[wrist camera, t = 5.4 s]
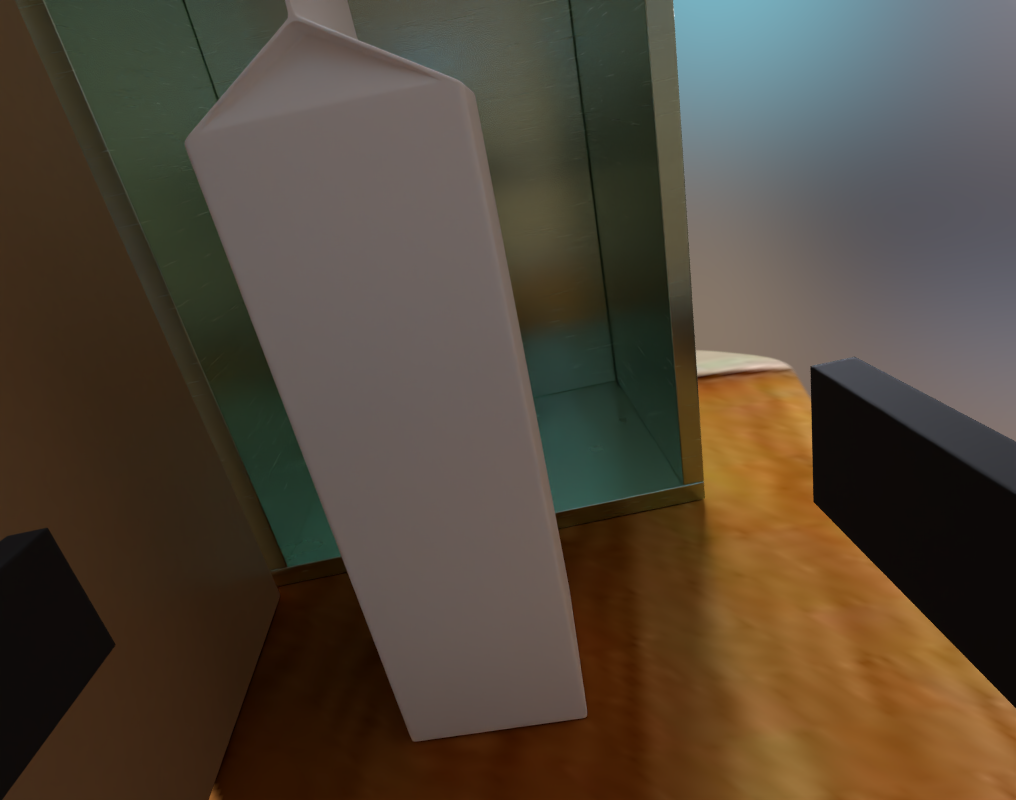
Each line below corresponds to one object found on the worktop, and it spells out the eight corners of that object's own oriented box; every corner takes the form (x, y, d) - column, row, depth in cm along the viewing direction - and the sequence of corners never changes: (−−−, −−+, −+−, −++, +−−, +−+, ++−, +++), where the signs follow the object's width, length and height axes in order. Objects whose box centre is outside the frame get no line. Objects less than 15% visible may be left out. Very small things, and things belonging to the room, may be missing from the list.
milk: (412, 745, 20) (98, -41, 11) (430, 611, 26) (230, 9, 17) (593, 719, 20) (422, -122, 11) (573, 588, 25) (448, -42, 16)
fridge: (705, 499, 29) (633, -637, 15) (274, 587, 29) (-196, -459, 15) (629, 385, 42) (551, -289, 28) (328, 447, 42) (99, -193, 28)
